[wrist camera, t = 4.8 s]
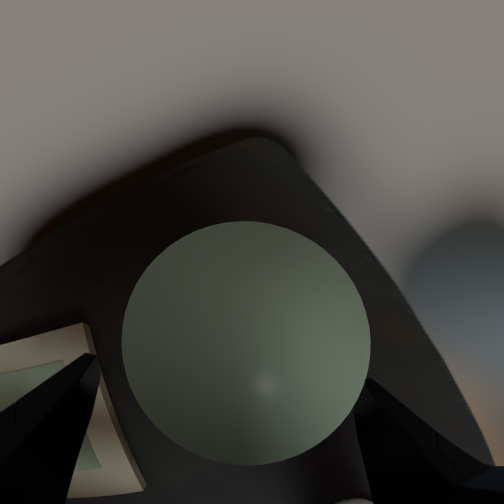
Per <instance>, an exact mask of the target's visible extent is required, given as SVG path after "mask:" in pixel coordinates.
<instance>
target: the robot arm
mask: <svg viewBox="0 0 504 504" xmlns="http://www.w3.org/2000/svg"><path fill="white" fill-rule="evenodd" d="M100 379H101V370H100V366H99V361H98V357H97V356H96V355H94V354H90V353H84V354H83V355H81V356H80V357H78V358H77V359H75V360H74V361H72V362H71V363H70V364H68V365H67V366H65V367H64V368H62V369H61V370H60V371H58V372H57V373H55V374H54V375H52V376H51V377H50V378H48V379H47V380H45V381H44V382H42V383H41V384H40V385H38V386H37V387H35V388H34V389H32V390H31V391H30V392H28V393H27V394H25V395H24V396H23V397H21V398H20V399H18V400H17V401H15V403H13V404H11V405H10V406H8V407H7V408H5V409H4V410H2V411H1V412H0V504H65V503H66V499H67V495H68V491H69V487H70V484H71V480H72V477H73V473H74V470H75V466H76V463H77V460H78V456H79V453H80V450H81V447H82V444H83V440H84V437H85V434H86V431H87V428H88V425H89V423H90V420H91V416H92V413H93V409H94V404H95V400H96V395H97V391H98V387H99V383H100ZM353 411H354V418H355V425H356V432H357V437H358V441H359V445H360V449H361V453H362V457H363V461H364V465H365V469H366V474H367V478H368V482H369V487H370V491H371V496H372V500H373V504H504V466H490V465H486V464H484V463H482V462H480V461H479V460H477V459H476V458H474V457H472V456H471V455H469V454H468V453H466V452H464V451H463V450H461V449H460V448H458V447H457V446H455V445H454V444H453V443H451V442H450V441H449V440H447V439H446V438H445V437H443V436H442V435H441V434H440V433H438V432H436V430H434V429H433V428H432V427H431V426H429V425H428V424H427V423H426V422H425V421H423V420H422V419H421V418H420V417H418V416H417V415H416V414H415V413H413V412H412V411H411V410H410V409H408V408H407V407H406V406H405V405H404V404H402V403H401V402H400V401H399V400H397V399H396V398H395V397H394V396H393V395H391V394H390V393H389V392H388V391H387V390H385V389H384V388H383V387H382V386H380V385H379V384H378V383H377V382H376V381H374V380H373V379H371V378H366V379H365V382H364V385H363V388H362V390H361V392H360V395H359V397H358V399H357V401H356V403H355V404H354V406H353Z"/></svg>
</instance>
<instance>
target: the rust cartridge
mask: <svg viewBox="0 0 504 504" xmlns="http://www.w3.org/2000/svg"><path fill="white" fill-rule="evenodd" d="M334 504H373V502H371V501H369V500H367V499H363V498H350V499H345V500H342V501H339V502H337V503H334Z"/></svg>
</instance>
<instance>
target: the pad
mask: <svg viewBox="0 0 504 504" xmlns="http://www.w3.org/2000/svg"><path fill="white" fill-rule="evenodd" d="M84 353H90V354H94V355H96V351H95V347H94V343H93V339H92V335H91V331H90V327H89V325H87V324H85V323H83V322H82V323H79V324H75V325H72V326H68V327H64V328H61V329H57V330H54V331H50V332H47V333H43V334H39V335H36V336H32V337H29V338H25V339H21V340H18V341H14V342H10V343H6V344H3V345H0V412H1V411H2V410H4V409H5V408H7V407H8V406H10V405H11V404H13V403H15V401H17V400H18V399H20V398H21V397H23V396H24V395H25V394H27V393H28V392H30V391H31V390H32V389H34V388H35V387H37V386H38V385H40V384H41V383H42V382H44V381H45V380H47V379H48V378H50V377H51V376H52V375H54V374H55V373H57V372H58V371H60V370H61V369H62V368H64V367H65V366H67V365H68V364H70V363H71V362H72V361H74V360H75V359H77V358H78V357H80V356H81V355H83V354H84ZM96 356H97V355H96ZM99 366H100V365H99ZM100 370H101V369H100ZM146 485H147V484H146V482H145V480H144V478H143V476H142V474H141V472H140V470H139V468H138V466H137V463H136V461H135V459H134V457H133V455H132V453H131V450H130V448H129V446H128V443H127V441H126V439H125V436H124V434H123V431H122V429H121V426H120V424H119V421H118V419H117V416H116V413H115V411H114V408H113V405H112V402H111V400H110V397H109V394H108V391H107V388H106V385H105V382H104V378H103V375H102V372H101V379H100V383H99V387H98V391H97V395H96V400H95V404H94V409H93V413H92V416H91V420H90V423H89V425H88V428H87V431H86V434H85V437H84V440H83V444H82V447H81V450H80V453H79V456H78V460H77V463H76V466H75V470H74V473H73V477H72V480H71V484H70V487H69V491H68V495H67V498H84V497H98V496H109V495H118V494H126V493H133V492H139V491H144V489H145V487H146Z"/></svg>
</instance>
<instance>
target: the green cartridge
mask: <svg viewBox="0 0 504 504" xmlns="http://www.w3.org/2000/svg"><path fill="white" fill-rule="evenodd" d="M122 354H123V363H124V367H125V371H126V375H127V379H128V382H129V384H130V387H131V389H132V391H133V394H134V396H135V398H136V400H137V401H138V403H139V405H140V406H141V408H142V410H143V411H144V412H145V414H146V415H147V416H148V418H149V419H150V420H151V421H152V422H153V424H154V425H155V426H156V427H157V428H158V429H159V430H160V431H161V432H163V433H164V434H165V435H166V436H167V437H168V438H169V439H171V440H172V441H174V442H175V443H177V444H178V445H179V446H181V447H182V448H184V449H186V450H188V451H190V452H192V453H194V454H196V455H198V456H201V457H204V458H207V459H210V460H213V461H216V462H221V463H226V464H232V465H262V464H270V463H274V462H278V461H283V460H286V459H289V458H291V457H294V456H297V455H299V454H301V453H303V452H305V451H307V450H309V449H311V448H312V447H314V446H316V445H317V444H318V443H320V442H321V441H322V440H324V439H325V438H327V437H328V436H329V435H330V434H331V433H332V432H333V431H334V430H335V429H336V428H337V427H338V426H339V425H340V424H341V423H342V422H343V420H344V419H345V418H346V417H347V415H348V414H349V413H350V411H351V409H352V408H353V406H354V404H355V403H356V401H357V399H358V397H359V395H360V392H361V390H362V388H363V385H364V382H365V379H366V375H367V371H368V366H369V359H370V332H369V324H368V320H367V315H366V311H365V308H364V305H363V303H362V300H361V297H360V295H359V293H358V291H357V289H356V287H355V285H354V283H353V282H352V280H351V279H350V277H349V276H348V275H347V273H346V272H345V270H344V269H343V268H342V267H341V266H340V264H339V263H338V262H337V261H336V260H335V259H334V258H333V257H332V256H331V255H330V254H329V253H327V252H326V251H325V250H324V249H323V248H321V247H320V246H319V245H317V244H316V243H314V242H313V241H311V240H309V239H308V238H306V237H304V236H302V235H300V234H298V233H296V232H294V231H291V230H289V229H286V228H283V227H279V226H276V225H272V224H267V223H260V222H247V221H239V222H227V223H221V224H217V225H212V226H209V227H206V228H203V229H200V230H197V231H195V232H193V233H191V234H188V235H186V236H184V237H182V238H181V239H179V240H178V241H176V242H175V243H173V244H172V245H170V246H169V247H168V248H166V249H165V250H164V251H163V252H162V253H161V254H160V255H158V256H157V257H156V258H155V260H154V261H153V262H152V263H151V264H150V265H149V266H148V267H147V269H146V270H145V272H144V273H143V275H142V276H141V278H140V279H139V281H138V282H137V284H136V286H135V288H134V290H133V292H132V294H131V296H130V299H129V302H128V305H127V308H126V311H125V316H124V322H123V328H122Z"/></svg>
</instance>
